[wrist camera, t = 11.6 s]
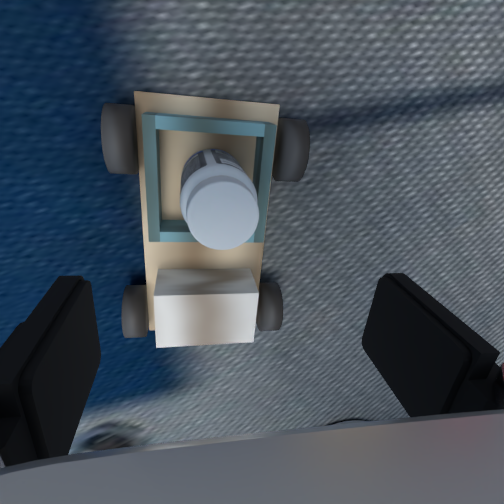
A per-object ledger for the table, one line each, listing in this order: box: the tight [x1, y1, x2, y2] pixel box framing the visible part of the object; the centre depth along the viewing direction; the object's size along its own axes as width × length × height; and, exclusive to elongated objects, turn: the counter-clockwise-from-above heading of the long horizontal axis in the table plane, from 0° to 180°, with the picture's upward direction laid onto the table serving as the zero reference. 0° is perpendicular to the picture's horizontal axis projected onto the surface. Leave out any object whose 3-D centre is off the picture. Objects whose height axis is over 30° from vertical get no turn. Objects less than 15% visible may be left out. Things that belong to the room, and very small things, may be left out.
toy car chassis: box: [101, 91, 310, 348], centre depth 25 cm, size 13×20×5 cm, turn 175°
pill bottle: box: [180, 149, 259, 250], centre depth 21 cm, size 5×5×8 cm
